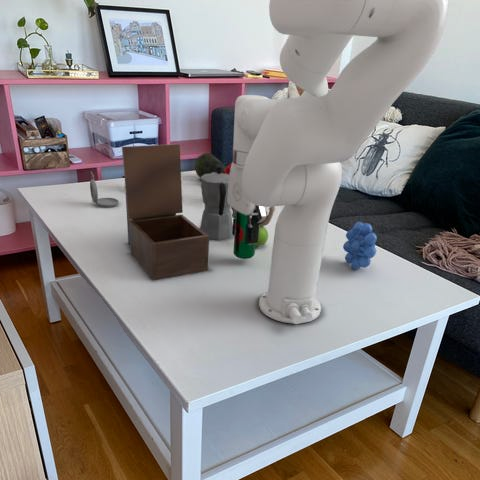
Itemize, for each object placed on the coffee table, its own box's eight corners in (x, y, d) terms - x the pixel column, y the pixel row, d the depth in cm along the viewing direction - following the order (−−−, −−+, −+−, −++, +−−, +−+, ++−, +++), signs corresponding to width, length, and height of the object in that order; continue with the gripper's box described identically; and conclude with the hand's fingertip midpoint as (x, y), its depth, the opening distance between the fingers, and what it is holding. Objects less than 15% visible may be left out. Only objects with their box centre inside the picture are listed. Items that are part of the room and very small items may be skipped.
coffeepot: (196, 224, 136) (198, 158, 126) (229, 225, 137) (233, 159, 128) (202, 247, 123) (204, 175, 113) (238, 246, 124) (243, 176, 115)
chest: (208, 270, 112) (209, 236, 107) (153, 280, 106) (152, 244, 101) (181, 246, 122) (182, 214, 118) (130, 254, 116) (128, 220, 112)
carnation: (202, 200, 178) (260, 226, 154) (167, 170, 165) (224, 193, 141) (226, 164, 178) (288, 185, 153) (192, 131, 165) (254, 148, 140)
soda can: (250, 261, 113) (254, 210, 107) (230, 257, 114) (232, 207, 108) (257, 253, 117) (260, 204, 111) (237, 250, 118) (240, 201, 113)
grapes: (383, 277, 115) (395, 229, 108) (358, 280, 113) (369, 231, 106) (357, 257, 124) (367, 212, 118) (334, 259, 122) (343, 213, 116)
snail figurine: (269, 251, 123) (274, 205, 117) (244, 247, 124) (248, 201, 118) (272, 243, 128) (277, 198, 122) (248, 240, 129) (252, 195, 122)
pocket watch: (123, 204, 146) (121, 170, 141) (102, 211, 140) (99, 176, 134) (103, 198, 149) (101, 165, 144) (82, 204, 143) (78, 170, 138)
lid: (179, 144, 111) (170, 142, 115) (122, 147, 105) (115, 144, 109) (182, 212, 117) (174, 208, 122) (129, 218, 111) (122, 214, 116)
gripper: (216, 151, 109) (214, 229, 118) (255, 168, 97) (249, 254, 106) (245, 150, 113) (240, 225, 122) (286, 166, 100) (278, 249, 109)
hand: (245, 237), depth 114 cm, fingers closed on soda can, 5 cm apart
